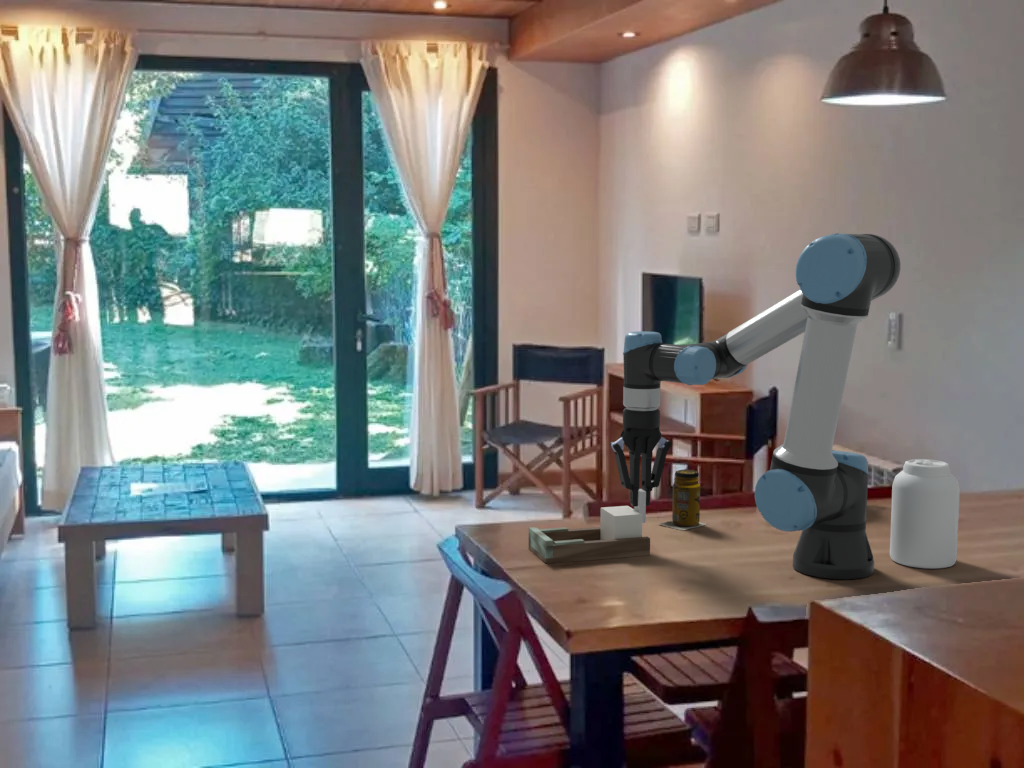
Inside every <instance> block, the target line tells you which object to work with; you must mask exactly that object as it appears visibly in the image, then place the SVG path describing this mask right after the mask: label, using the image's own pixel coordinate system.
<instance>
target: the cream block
mask: <svg viewBox="0 0 1024 768" xmlns="http://www.w3.org/2000/svg"><path fill="white" fill-rule="evenodd" d="M599 527H600V540H608V539H621V538H634V537H643V523H642V514H641V513H639V512H638V511H636V510H634V507H633V508H632V507H631V506H629V505H619V506H617V505H616V506H605V507H600V526H599Z"/></svg>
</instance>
